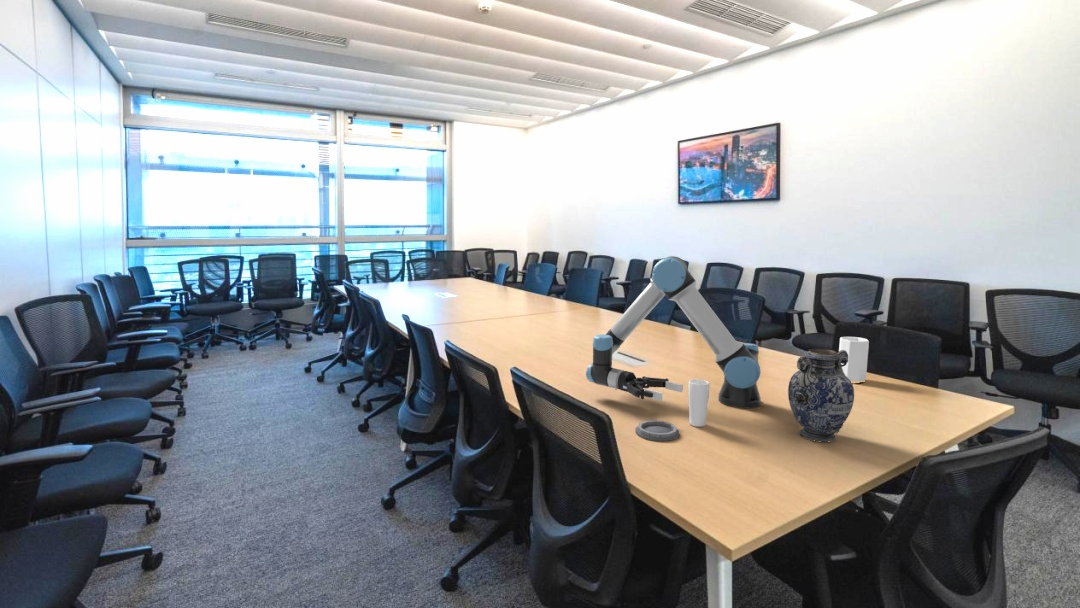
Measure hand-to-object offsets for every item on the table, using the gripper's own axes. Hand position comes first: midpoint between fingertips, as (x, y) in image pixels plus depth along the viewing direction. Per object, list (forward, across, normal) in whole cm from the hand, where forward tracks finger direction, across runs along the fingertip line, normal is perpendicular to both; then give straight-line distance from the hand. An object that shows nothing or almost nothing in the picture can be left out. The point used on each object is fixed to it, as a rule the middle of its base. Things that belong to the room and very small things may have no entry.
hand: (672, 392), depth 186 cm
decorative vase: (+43, -18, -9) cm, 47 cm away
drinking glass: (+10, 0, -9) cm, 14 cm away
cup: (+33, -96, -9) cm, 101 cm away
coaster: (+4, +16, -9) cm, 19 cm away
